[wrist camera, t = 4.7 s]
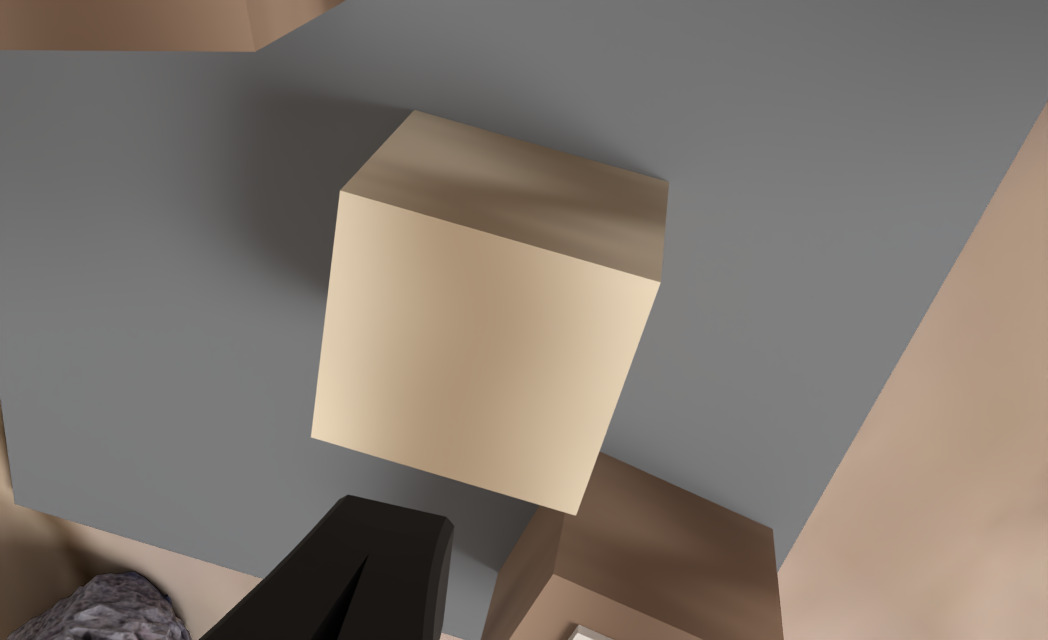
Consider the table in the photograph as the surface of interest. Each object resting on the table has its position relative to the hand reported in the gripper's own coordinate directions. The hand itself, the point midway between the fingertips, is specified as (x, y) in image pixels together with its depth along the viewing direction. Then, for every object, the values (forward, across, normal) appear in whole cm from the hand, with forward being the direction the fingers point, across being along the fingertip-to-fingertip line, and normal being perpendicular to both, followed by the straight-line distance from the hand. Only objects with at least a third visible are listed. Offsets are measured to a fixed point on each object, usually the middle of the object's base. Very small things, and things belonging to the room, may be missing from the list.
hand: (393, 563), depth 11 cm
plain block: (+8, 0, 0) cm, 8 cm away
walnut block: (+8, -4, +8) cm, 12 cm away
